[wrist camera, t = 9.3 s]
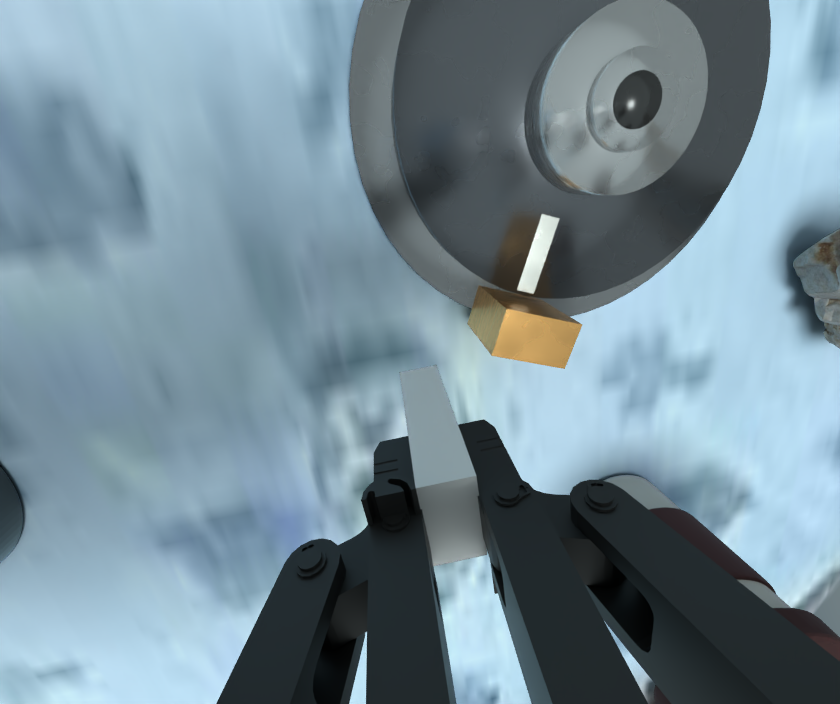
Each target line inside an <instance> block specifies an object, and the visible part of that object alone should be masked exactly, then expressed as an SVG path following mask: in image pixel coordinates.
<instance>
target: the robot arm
mask: <svg viewBox="0 0 840 704" xmlns="http://www.w3.org/2000/svg"><path fill="white" fill-rule="evenodd" d="M400 380H401V387H402V394H403V401H404V408H405V416H406V423H407V430H408V436H406V437H401V438H397V439H392V440H387V441H382V442H380V443H379V445H378V446H377V448H376V450H375V452H374V482H373V483H371V484H370V485H369V486H368V487H367V488H366V490H365V491H364V492H363V496H362V499H361V501H362V505H363V508H364V511H365V515H366V518H367V522H368V525H367V527H366V528H365V529H364V530H363V531H362V532H361V533H360V534H358V535H357V536H355V537H353V538H352V539H350V540H348V541H346V542H344V543H342V544H340V545H336V544H335V543H334V542H333V541H331V540H327V539H317V540H311V541H309V542H307V543H305V544H303V545H301V546H300V547H299V548H297V549H296V550H295V551H294V552H293V553H292V554H291V555H290V557H289V558H288V559H287V561H286V562H285V564H284V566H283V568H282V570H281V572H280V574H279V576H278V578H277V580H276V582H275V585H274V587H273V589H272V591H271V593H270V595H269V597H268V599H267V601H266V603H265V605H264V607H263V609H262V611H261V613H260V615H259V617H258V619H257V621H256V624H255V626H254V628H253V630H252V632H251V634H250V636H249V638H248V640H247V642H246V644H245V646H244V648H243V650H242V652H241V654H240V656H239V658H238V660H237V663H236V665H235V667H234V669H233V671H232V673H231V675H230V677H229V679H228V681H227V683H226V685H225V687H224V689H223V691H222V693H221V695H220V697H219V699H218V701H217V704H349V701H350V697H351V693H352V689H353V684H354V680H355V676H356V672H357V667H358V663H359V659H360V655H361V651H362V646H363V642H364V638H365V632H367V679H366V704H456V698H455V692H454V686H453V680H452V673H451V667H450V661H449V655H448V649H447V643H446V637H445V630H444V624H443V618H442V612H441V606H440V600H439V593H438V587H437V582H436V578H435V573H434V567H433V566H438V565H442V564H447V563H451V562H456V561H461V560H465V559H470V558H474V557H479V556H484V555H487V551H488V554H489V557H490V562H491V569H492V577H493V584H494V591H495V594H496V593H498V595H499V598H500V601H501V605H502V608H503V611H504V614H505V618H506V621H507V624H508V627H509V631H510V634H511V637H512V641H513V644H514V647H515V650H516V654H517V657H518V660H519V663H520V667H521V670H522V673H523V677H524V680H525V683H526V686H527V690H528V693H529V696H530V699H531V703H532V704H648V703H647V701H646V699H645V697H644V695H643V693H642V691H641V690H640V688H639V686H638V684H637V682H636V680H635V678H634V676H633V675H632V673H631V671H630V669H629V667H628V665H627V663H626V661H625V660H624V658H623V656H622V654H621V652H620V650H619V648H618V646H617V645H616V643H615V641H614V639H613V637H612V635H611V633H610V631H609V630H608V628H607V626H606V624H607V625H608V626H609V627H610V628H611V630H612V631H613V632H614V633H615V635H616V636H617V637H618V638H619V640H620V641H621V642H622V643H623V645H624V646H625V647H626V648H627V650H628V651H629V652H630V653H631V654H632V656H633V657H634V658H635V659H636V661H637V662H638V663H639V664H640V666H641V667H642V668H643V669H644V671H645V672H646V673H647V674H648V675H649V677H650V678H651V679H652V680H653V682H654V683H655V684H656V685H657V687H658V688H659V689H660V690H661V692H662V693H663V694H664V695H665V697H666V698H667V699H668V700H669V701H670V703H671V704H840V661H838V660H837V659H836V658H835V657H833V656H832V655H831V654H830V653H828V652H827V651H826V650H825V649H823V648H822V647H821V646H820V645H818V644H817V643H816V642H815V641H813V640H812V639H811V638H809V637H808V636H807V635H806V634H804V633H803V632H802V631H801V630H799V629H798V628H797V627H796V626H794V625H793V624H792V623H791V622H789V621H788V620H787V619H786V618H784V617H783V616H782V615H781V614H779V613H778V612H777V611H775V610H774V609H773V608H772V607H770V606H769V605H768V604H767V603H765V602H764V601H763V600H762V599H760V598H759V597H758V596H757V595H755V594H754V593H753V592H752V591H750V590H749V589H748V588H747V587H745V586H744V585H743V584H741V583H740V582H739V581H738V580H736V579H735V578H734V577H733V576H731V575H730V574H729V573H728V572H726V571H725V570H724V569H723V568H721V567H720V566H719V565H718V564H716V563H715V562H714V561H713V560H711V559H710V558H709V557H708V556H706V555H705V554H704V553H702V552H701V551H700V550H699V549H697V548H696V547H695V546H694V545H692V544H691V543H690V542H689V541H687V540H686V539H685V538H684V537H682V536H681V535H680V534H679V533H677V532H676V531H675V530H674V529H672V528H671V527H670V526H668V525H667V524H666V523H665V522H663V521H662V520H661V519H660V518H658V517H657V516H656V515H655V514H653V513H652V512H651V511H650V510H648V509H647V508H646V507H645V506H643V505H642V504H641V503H640V502H638V501H637V500H636V499H634V498H633V497H632V496H631V495H629V494H628V493H627V492H626V491H624V490H623V489H622V488H620V487H618V486H616V485H615V484H613V483H610V482H606V481H603V480H587V481H583V482H580V483H579V484H577V485H576V486H574V487H573V489H572V491H571V493H570V495H554V494H546V493H542V492H539V491H536V490H534V489H533V488H532V487H531V486H530V485H529V484H528V483H527V482H525V481H523V480H522V479H521V478H520V476H519V474H518V472H517V470H516V468H515V466H514V464H513V462H512V460H511V458H510V456H509V454H508V452H507V450H506V448H505V447H504V445H503V443H502V441H501V439H500V437H499V435H498V433H497V431H496V429H495V427H494V426H492V425H491V424H490V423H488V422H487V421H485V420H479V421H474V422H469V423H465V424H460V425H458V423H457V421H456V418H455V415H454V412H453V410H452V407H451V404H450V401H449V398H448V396H447V393H446V390H445V387H444V385H443V382H442V379H441V376H440V373H439V371H438V368H437V365H434V366H429V367H424V368H419V369H414V370H408V371H403V372H400ZM22 526H23V512H22V506H21V502H20V499H19V496H18V494H17V492H16V489H15V488H14V486H13V484H12V482H11V481H10V479H9V478H8V476H7V475H6V473H5V472H4V471H3V469H2V468H1V467H0V563H1V562H2V561H3V560H4V559H5V558H6V557H7V556H8V555H9V554H10V553H11V552H12V550H13V549H14V548H15V546H16V544H17V542H18V540H19V538H20V535H21V531H22ZM486 548H487V550H486ZM604 621H605V622H606V624H605V622H604Z"/></svg>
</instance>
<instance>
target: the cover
mask: <svg viewBox="0 0 840 704" xmlns="http://www.w3.org/2000/svg"><path fill="white" fill-rule="evenodd" d="M707 87H708V66H707V59H706V53H705V49H704V46H703V43H702V39H701V37H700V35H699V33H698V31H697V29H696V27H695V26H694V24H693V23H692V21H691V20H690V19H689V17H688V16H687V15H686V14H685V13H684V12H683V11H682V10H680V9H679V8H678V7H676V6H675V5H674V4H672V3H670V2H668V1H666V0H618V1H615V2H613V3H611V4H608V5H607V6H605V7H603V8H602V9H600V10H599V11H597V12H596V13H594V14H593V15H592V16H591V17H589V18H588V19H587V20H586V21H584V22H583V23H582V24H581V25H579V26H578V27H577V28H575V29H574V30H573V31H572V32H570V33H569V34H568V35H567V36H565V37H564V38H563V39H562V40H560V41H559V42H558V43H557V44H556V45H555V46H554V47H553V48H552V49H551V50H550V52H549V53H548V54H547V56H546V57H545V58H544V60H543V61H542V63H541V64H540V66H539V68H538V70H537V71H536V74H535V76H534V78H533V80H532V83H531V86H530V89H529V92H528V95H527V100H526V105H525V113H524V131H525V139H526V143H527V148H528V151H529V154H530V156H531V159H532V161H533V163H534V165H535V166H536V168H537V169H538V171H539V172H540V174H541V175H542V176H543V177H544V178H545V179H546V180H547V181H548V182H549V183H551V184H552V185H553V186H555V187H556V188H558V189H560V190H562V191H565V192H568V193H571V194H576V195H622V194H627V193H631V192H634V191H637V190H639V189H642V188H644V187H646V186H647V185H649V184H651V183H653V182H654V181H655V180H657V179H658V178H660V177H661V176H662V175H663V174H664V173H666V172H667V171H668V170H669V169H670V168H671V167H672V166H673V165H674V164H675V162H676V161H677V160H678V159H679V158H680V156H681V155H682V154H683V152H684V151H685V150H686V148H687V146H688V145H689V143H690V141H691V140H692V138H693V136H694V134H695V132H696V129H697V127H698V125H699V122H700V119H701V116H702V113H703V109H704V106H705V101H706V95H707Z"/></svg>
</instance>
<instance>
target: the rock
mask: <svg viewBox="0 0 840 704" xmlns="http://www.w3.org/2000/svg"><path fill="white" fill-rule="evenodd" d="M793 267H794V269H795V271H796V273H797V276H799V277H800V280H801V282H802V285H803V288H804V291H805V292H806V293H807V294H808V295H809V296H811V297H813V298H814V304H815V311H816V314H817V316H818V318H819V319H820V320H821V321H823V322H824V326H825V328H826V329H825V331H824V336H825V338H826V340H827V341H828V342H829V343H832V344H834V345H835V346H837V347H838V348H840V229H838V230H836V231H835V232H833V233H831V234H829V235H827V236H826V237H824V238H822V239H821V240H820V241H818V242H817V243H816V244H814V245H813V246H811V247H810V248H808V249H807V250H805V251H804V252H803V253H801V254H800V255H799V256H798V257H797V258H795V260H794V262H793Z"/></svg>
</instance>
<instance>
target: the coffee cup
mask: <svg viewBox="0 0 840 704" xmlns="http://www.w3.org/2000/svg"><path fill="white" fill-rule="evenodd" d="M603 481H606V482H610V483H613V484H615V485H616V486H618V487H620V488H622V489H623V490H624V491H626V492H627V493H628V494H629V495H631V496H632V497H633V498H634V499H636V500H637V501H638V502H640V503H641V504H642V505H643V506H645V507H646V508H647V509H648V510H650V511H651V512H652V513H653V514H655V515H656V516H657V517H658V518H660V519H661V520H662V521H663V522H665V523H666V524H667V525H668V526H670V527H671V528H672V529H674V530H675V531H676V532H677V533H679V534H680V535H681V536H682V537H684V538H685V539H686V540H687V541H689V542H690V543H691V544H692V545H694V546H695V547H696V548H697V549H699V550H700V551H701V552H702V553H704V554H705V555H706V556H708V557H709V558H710V559H711V560H713V561H714V562H715V563H716V564H718V565H719V566H720V567H721V568H723V569H724V570H725V571H726V572H728V573H729V574H730V575H731V576H733V577H734V578H735V579H736V580H738V581H739V582H740V583H741V584H743V585H744V586H745V587H747V588H748V589H749V590H750V591H752V592H753V593H754V594H755V595H757V596H758V597H759V598H760V599H762V600H763V601H764V602H765V603H767V604H768V605H769V606H770V607H772V608H773V609H774V610H775V611H777V612H778V613H779V614H781V615H782V616H783V617H784V618H786V619H787V620H788V621H789V622H791V623H792V624H793V625H794V626H796V627H797V628H798V629H799V630H801V631H802V632H803V633H804V634H806V635H807V636H808V637H809V638H811V639H812V640H813V641H815V642H816V643H817V644H818V645H820V646H821V647H822V648H823V649H825V650H826V651H827V652H828V653H830V654H831V655H832V656H833V657H835V658H836V659H837V660H838V661H840V637H839V636H837V635H836V634H835V633H834V632H833V631H832V630H831V629H830V628H829V627H828V626H827V625H826V624H825V623H824V622H823V621H822V620H821V619H819V618H818V617H816V616H815V615H814V614H812V613H810V612H808V611H804V610H800V609H795V608H790V607H789V606H788V605H787V604H786V603H785V602H784V601H783V600H782V599H780V598H779V597H778V596H777V595H776V593H775V590H774V589H773V587H772V586H771V585H770V584H769V583H768V582H767V581H766V580H765V579H764V578H763V577H762V576H760V575H759V574H758V573H757V572H756V571H755V570H754V569H752V568H751V567H750V566H749V565H748V564H747V563H746V562H744V561H743V560H742V559H741V558H740V557H739V556H738V555H736V554H735V553H734V552H733V551H732V550H731V549H730V548H729V547H727V546H726V545H725V544H724V543H723V542H722V541H721V540H719V539H718V538H717V537H716V536H715V535H714V534H713V533H711V532H710V531H709V530H708V529H707V528H706V527H705V526H703V525H702V524H701V523H700V522H699V521H698V520H697V519H695V518H694V517H693V516H692V515H690V514H689V513H687V512H685V511H683V510H681V509H680V508H679V507H677V506H676V505H675V504H674V503H673V502H672V501H671V500H670V499H668V498H667V497H666V496H665V495H664V494H663V493H662V492H661V491H660V490H658V489H657V488H656V487H655V486H654V485H653V484H652V483H650V482H649V481H647V480H646V479H644V478H641V477H639V476H634V475H619V476H614V477H611V478H608V479H605V480H603ZM654 699H655V704H671V703H670V701H669V700H668V699H667V698H666V697H665V695H664V694H663V693H662V692H661V690H660V689H659V688H658V687H657V685H655V689H654Z"/></svg>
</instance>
